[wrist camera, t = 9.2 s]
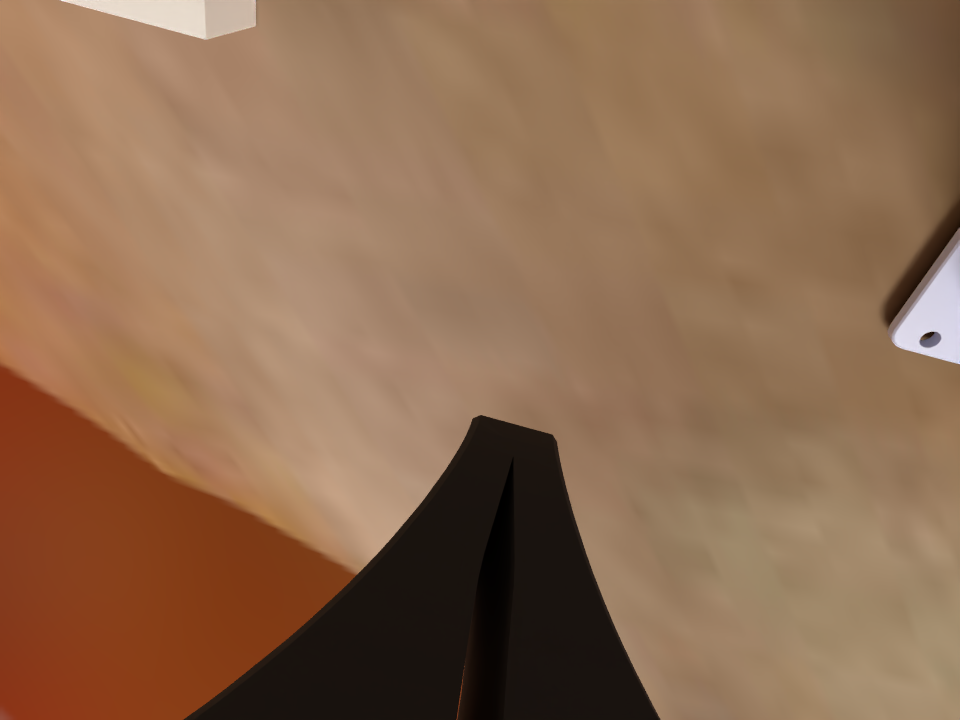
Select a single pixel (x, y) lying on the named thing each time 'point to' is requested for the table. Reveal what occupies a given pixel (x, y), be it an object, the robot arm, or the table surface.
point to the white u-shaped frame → (183, 14)
